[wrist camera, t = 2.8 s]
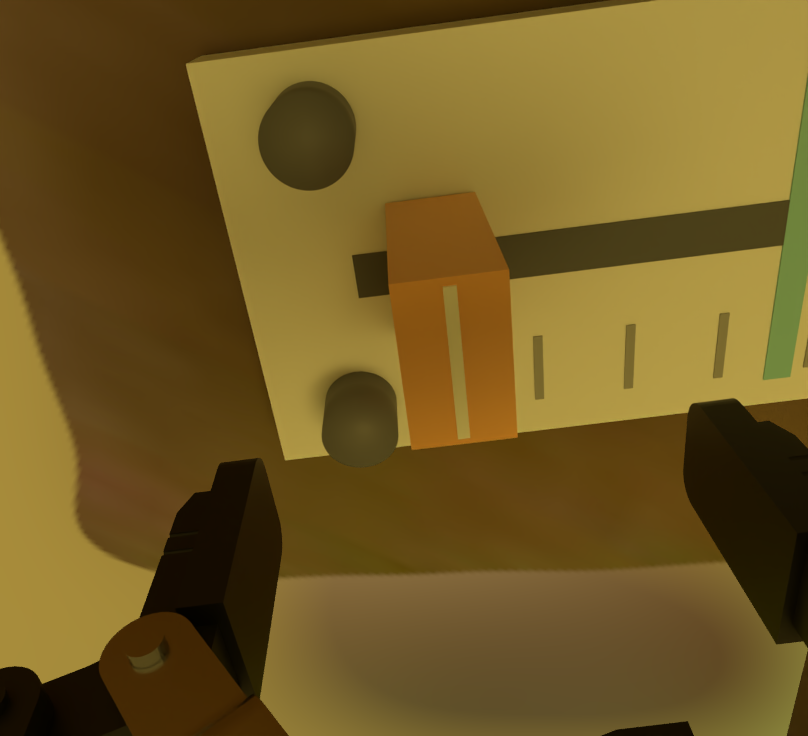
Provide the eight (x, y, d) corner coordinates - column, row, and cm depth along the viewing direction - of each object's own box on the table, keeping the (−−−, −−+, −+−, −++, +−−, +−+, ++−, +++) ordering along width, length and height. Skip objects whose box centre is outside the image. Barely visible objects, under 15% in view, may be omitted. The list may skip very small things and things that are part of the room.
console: (201, 55, 20) (166, 73, 17) (1054, -60, 20) (1198, -66, 16) (290, 428, 27) (278, 497, 23) (938, 350, 26) (1024, 409, 23)
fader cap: (385, 203, 21) (388, 286, 15) (474, 191, 20) (509, 270, 15) (403, 338, 23) (411, 451, 17) (484, 328, 23) (518, 439, 17)
